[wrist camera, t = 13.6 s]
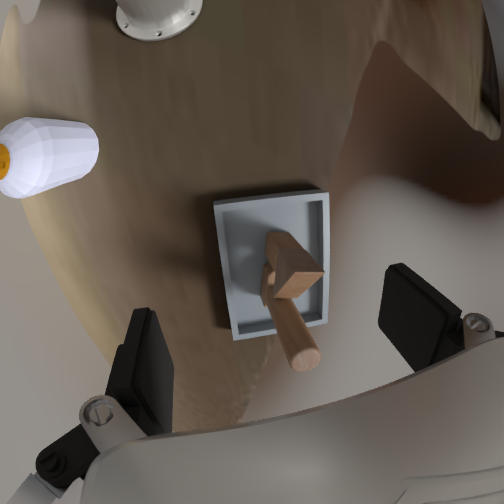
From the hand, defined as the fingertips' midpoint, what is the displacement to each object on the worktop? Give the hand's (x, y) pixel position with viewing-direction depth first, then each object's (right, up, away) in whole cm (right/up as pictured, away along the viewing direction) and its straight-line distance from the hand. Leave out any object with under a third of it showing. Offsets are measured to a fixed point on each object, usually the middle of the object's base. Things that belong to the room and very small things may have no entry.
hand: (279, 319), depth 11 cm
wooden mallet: (+2, +1, +34) cm, 34 cm away
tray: (+2, +1, +34) cm, 35 cm away
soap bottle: (-26, +17, +24) cm, 39 cm away
